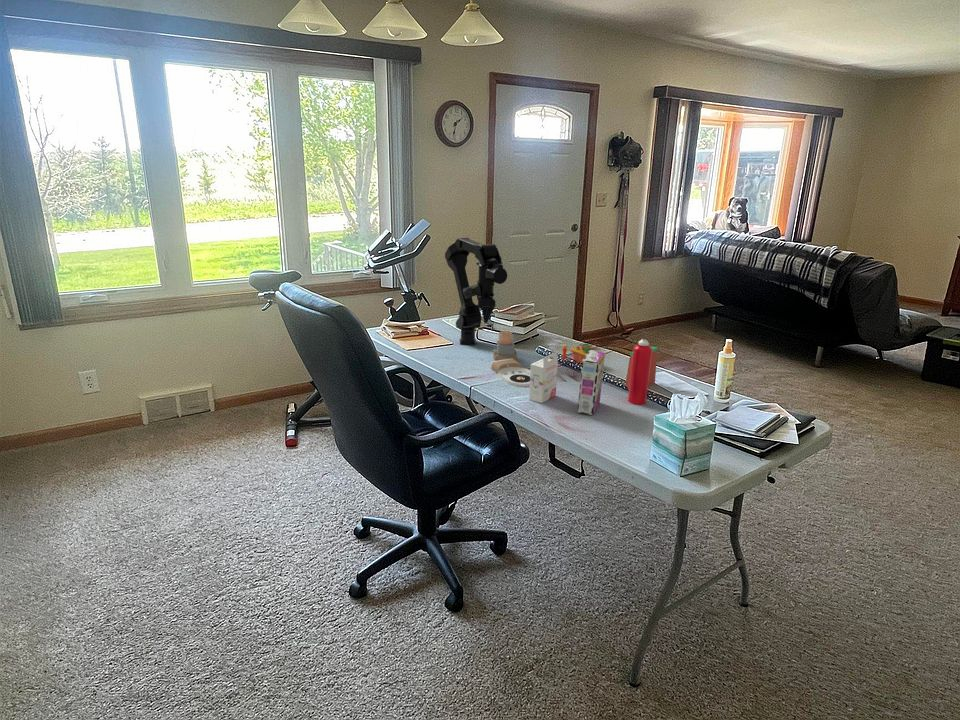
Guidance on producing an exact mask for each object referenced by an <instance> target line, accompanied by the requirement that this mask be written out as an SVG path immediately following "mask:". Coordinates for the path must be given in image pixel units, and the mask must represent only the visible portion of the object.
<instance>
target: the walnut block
mask: <svg viewBox="0 0 960 720" xmlns="http://www.w3.org/2000/svg"><path fill="white" fill-rule="evenodd" d="M512 358H513V359H514V360H516V361H517V362H518V353H517V351H516V349H515V355H498V353H497V348H496V349H493V361H498V360H505V359H512Z"/></svg>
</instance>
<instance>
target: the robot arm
mask: <svg viewBox="0 0 960 720" xmlns="http://www.w3.org/2000/svg"><path fill="white" fill-rule="evenodd" d="M470 254H473V255H474V258H475V259H477V262H476V266H478V280H477V281H476V282H477V283H476V284H474V285H470V283H469V279H468V275H467V271H466V270H467V269H466V266H467V264H468V257H469V255H470ZM444 258H445V260H446V264H447V266H448V267H449V268H450V269H451V270H452V272H453V275H454V280H455V284H456V288H457V291H458V292H457V293H458V297H459V301H460V308H459V311H458V314H459V316H458V317H457V319H456V320H455V328H457V329H458V330H460V338H459V344H460V345H477V340H476V329H478V328H481V324H482V320H483V322H484V324H487V323H488V322H489V320H490V318H491V316H492V313H493V311H494V310H495V307H496V301H497V300H496V299H495V297H494V296H495V293H494V288H495V287H494V286H495V284H497V285H501V284H504V283H505V282H506V281H507V279H508V272H507V270H506V269H505V268H504V265H503V261H502V257H501V255H500V252H499V249H498V247H497V246H496V244H494V243H480V242H478V241H475V240H473V239H471V238H468V237H460V238H457V239H456V240H455V242H454V243H452V244H451V245H448V248H447V249H446V251H445V253H444ZM473 297H476V299H477V304H475V302H474V301H473ZM481 312H482V313H481Z"/></svg>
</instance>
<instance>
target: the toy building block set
mask: <svg viewBox="0 0 960 720" xmlns="http://www.w3.org/2000/svg"><path fill="white" fill-rule="evenodd" d="M567 347H568V346H567V344H563V345H562V357H561V359H565V360H566V359H567V352H568V350H569V351H570V352H571V353H573V355H572V356H573V357H572V361H573V360H576V361H577V362H580V363H579V364H581V363H582V360H583V359H584V358H585V356H586V355H587V354H588V352H589V351H591V348H593V347H594V345H592V344H590V343H586V342H585V343H581V344H578V345H577V346H576V347H573V348H567ZM650 347H651V348H652V357H651V365H650V374H649V382H648V387H649V386H653V385H655V384H656V374H657V373H656V372H657V358H658V357H657V356H658V351H659V350H658V349H659V347H656V346H650ZM629 353H630V354H629V358H628V359H629V360H628V366H627V373H626V379H625V384H624V387H625V386H626V387H629V386H630V377H631V368H632V358H633V351H629ZM577 362H576V363H577Z"/></svg>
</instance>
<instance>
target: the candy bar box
mask: <svg viewBox="0 0 960 720" xmlns="http://www.w3.org/2000/svg"><path fill="white" fill-rule="evenodd" d="M605 356H606V352H602V351H595V350H590V351H589V352H588V354H587V355H586V356H585V358H584V359H583V360H582V365H581V371H580V382H579V393H578V405H577V413H578V414H582V415H587V416H594V414H595V412H596V410H597V408H598V406H599V404H600V403H601V395H602V394H601V392H602V384H603V374H604V365H605Z"/></svg>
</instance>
